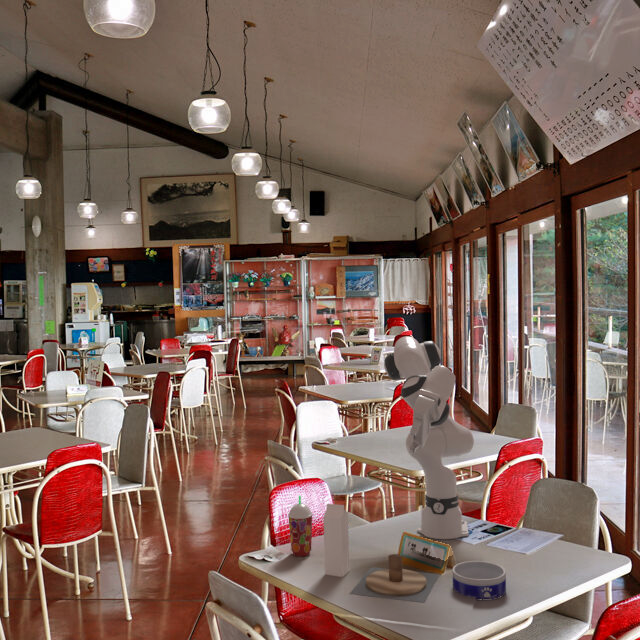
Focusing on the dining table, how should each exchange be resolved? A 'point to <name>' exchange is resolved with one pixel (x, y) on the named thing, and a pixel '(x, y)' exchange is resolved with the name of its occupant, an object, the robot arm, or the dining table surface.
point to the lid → (395, 579)
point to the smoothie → (300, 529)
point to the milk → (336, 540)
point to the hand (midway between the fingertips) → (411, 443)
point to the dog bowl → (479, 579)
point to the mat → (417, 597)
